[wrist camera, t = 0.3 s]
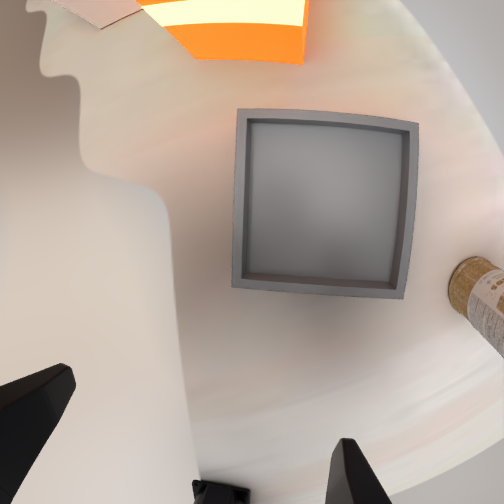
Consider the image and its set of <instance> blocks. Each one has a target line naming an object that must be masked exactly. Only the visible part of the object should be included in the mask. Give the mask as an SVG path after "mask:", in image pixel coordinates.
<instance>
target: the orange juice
mask: <svg viewBox="0 0 504 504" xmlns="http://www.w3.org/2000/svg"><path fill="white" fill-rule="evenodd" d="M136 1H137V2H138V3H139V4H140V5H141V6H142V8H143V9H144V10H145V11H146V12H147V13H148V14H149V15H150V16H151V17H152V18H154V19H155V20H156V21H157V22H158V23H159V24H160V25H161V26H163V27H164V28H166V29H167V30H168V31H169V32H170V33H171V34H172V35H173V36H174V37H175V38H176V39H177V40H178V41H179V42H180V43H181V44H182V45H183V46H184V47H185V48H186V49H187V50H188V51H189V52H190V53H191V54H192V55H193V56H194V57H195V58H196V59H231V60H256V61H271V62H282V63H293V64H302V65H303V59H304V50H305V40H306V30H307V19H308V9H309V0H136Z"/></svg>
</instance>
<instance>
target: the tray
mask: <svg viewBox="0 0 504 504" xmlns="http://www.w3.org/2000/svg"><path fill="white" fill-rule="evenodd" d="M418 155H419V123H415V122H410V121H404V120H397V119H390V118H383V117H376V116H368V115H359V114H350V113H339V112H327V111H313V110H294V109H237V127H236V152H235V179H234V209H233V245H232V287H234V288H245V289H256V290H268V291H280V292H293V293H306V294H320V295H335V296H351V297H368V298H386V299H403V298H404V292H405V287H406V281H407V275H408V268H409V261H410V254H411V247H412V239H413V230H414V220H415V209H416V197H417V181H418Z"/></svg>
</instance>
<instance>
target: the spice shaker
mask: <svg viewBox="0 0 504 504" xmlns="http://www.w3.org/2000/svg"><path fill="white" fill-rule="evenodd" d="M449 298H450V302H451V304H452V306H453V308H454V309H455V310H457V311H458V312H459V313H461V314H463V315H464V316H465V317H466V318H467V319H468V320H469V321H470V323H471V324H472V325H473V327H474V328H475V329H476V330H477V331H478V332H479V333H480V334H481V335H482V336H483V337H484V338H485V339H486V340H487V341H488V342H489V343H490V344H491V345H492V346H493V347H494V348H495V349H496V350H497V352H498V353H499V354H500V355H501V356H502V357H503V358H504V270H501V269H500V268H498V267H496V266H494V265H492V264H491V263H490V262H489V261H488V260H486V259H485V258H481V257H474V258H470V259H468V260H466V261H465V262H464V263H462V264H461V265H460V266H459V267H458V269H457V270H456V271H455V272H454V274H453V276H452V279H451V282H450V286H449Z"/></svg>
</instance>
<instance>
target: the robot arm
mask: <svg viewBox="0 0 504 504" xmlns="http://www.w3.org/2000/svg"><path fill="white" fill-rule="evenodd" d="M75 388H76V382H75V378H74V375H73V372H72V369H71V367H70V366H67V365H65V364H63V363H59V364H57V365H54V366H51V367H49V368H46V369H44V370H41V371H39V372H36V373H33V374H31V375H28V376H26V377H23V378H20V379H18V380H15V381H13V382H10V383H7V384H5V385H2V386H0V504H11V502H12V500H13V498H14V496H15V494H16V493H17V491H18V489H19V487H20V485H21V484H22V482H23V480H24V478H25V477H26V475H27V473H28V471H29V470H30V468H31V466H32V465H33V463H34V461H35V460H36V458H37V456H38V455H39V453H40V451H41V450H42V448H43V446H44V445H45V443H46V441H47V440H48V438H49V436H50V435H51V434H52V432H53V430H54V429H55V427H56V426H57V424H58V422H59V420H60V418H61V417H62V415H63V413H64V410H65V408H66V406H67V404H68V402H69V400H70V398H71V396H72V394H73V392H74V390H75ZM192 486H193V492H194V498H195V502H194V504H250V490H248V489H243V488H237V487H231V486H225V485H219V484H214V483H209V482H204V481H199V480H193V482H192ZM325 504H392V502H391V501H390V499H389V497H388V496H387V494H386V492H385V491H384V489H383V487H382V485H381V484H380V482H379V480H378V479H377V477H376V475H375V473H374V472H373V470H372V468H371V467H370V465H369V463H368V462H367V460H366V458H365V456H364V455H363V453H362V451H361V450H360V448H359V446H358V444H357V443H356V441H355V440H354V439H351V438H341V439H340V440H339V442H338V444H337V446H336V448H335V449H334V451H333V453H332V457H331V464H330V472H329V479H328V486H327V492H326V502H325Z"/></svg>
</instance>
